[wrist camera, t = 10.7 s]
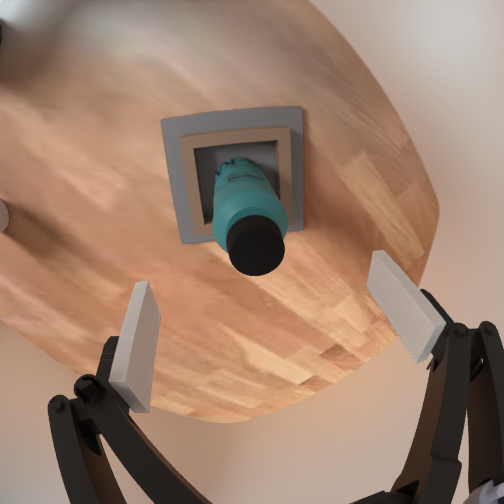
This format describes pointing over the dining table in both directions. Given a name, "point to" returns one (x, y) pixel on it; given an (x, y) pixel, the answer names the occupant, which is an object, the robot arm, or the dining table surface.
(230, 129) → the bottle stand
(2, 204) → the coffee cup
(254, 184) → the beverage bottle
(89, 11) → the dining table surface
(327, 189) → the dining table surface
